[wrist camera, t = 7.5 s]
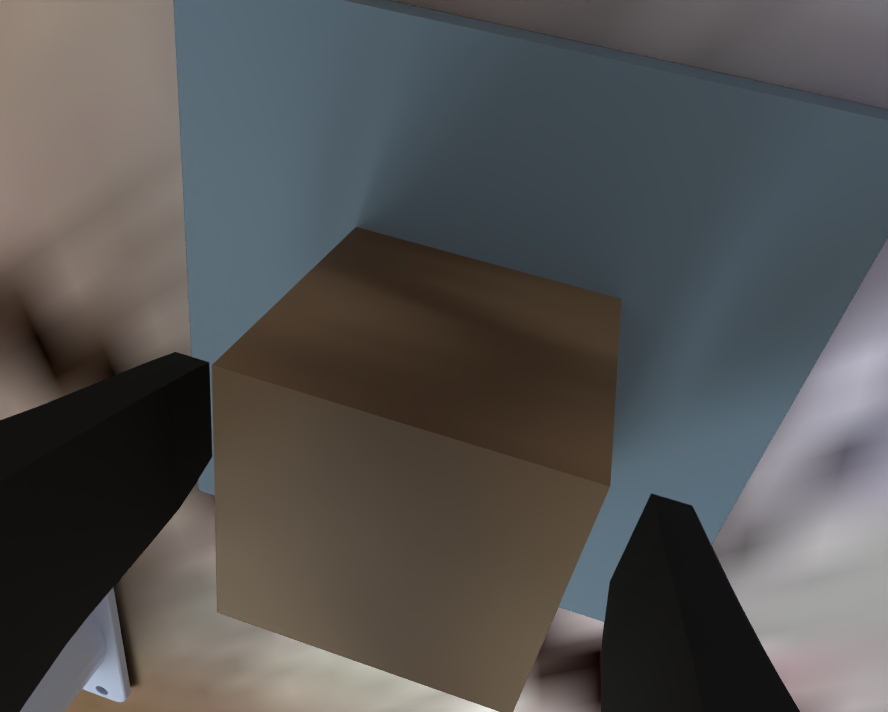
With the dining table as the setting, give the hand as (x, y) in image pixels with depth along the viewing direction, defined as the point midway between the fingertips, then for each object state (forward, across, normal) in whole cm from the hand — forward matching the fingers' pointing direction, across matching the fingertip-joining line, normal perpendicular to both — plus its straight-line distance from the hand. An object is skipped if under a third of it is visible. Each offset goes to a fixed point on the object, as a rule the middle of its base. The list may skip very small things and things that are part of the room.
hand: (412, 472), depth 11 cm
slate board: (+4, 0, 0) cm, 4 cm away
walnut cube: (+3, 0, 0) cm, 3 cm away
